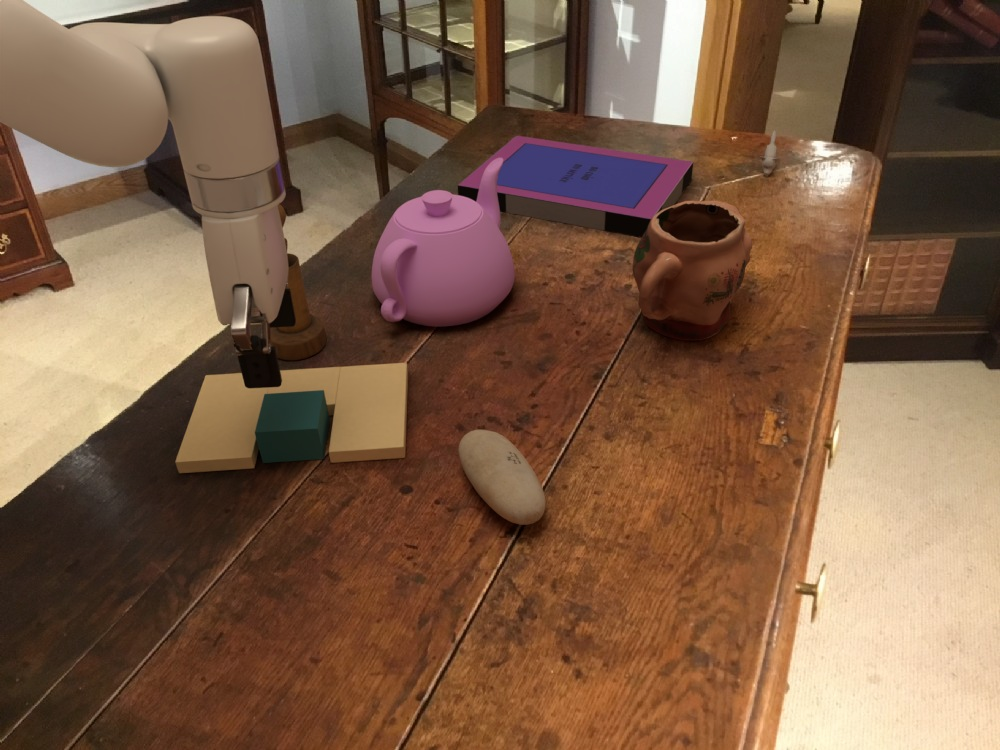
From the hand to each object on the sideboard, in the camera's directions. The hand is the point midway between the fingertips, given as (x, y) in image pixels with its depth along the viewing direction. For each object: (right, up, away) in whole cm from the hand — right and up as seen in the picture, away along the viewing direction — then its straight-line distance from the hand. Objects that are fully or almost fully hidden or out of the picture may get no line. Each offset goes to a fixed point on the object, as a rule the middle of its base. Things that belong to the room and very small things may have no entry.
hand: (272, 354), depth 79 cm
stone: (+21, -13, 0) cm, 25 cm away
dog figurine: (+64, +30, +56) cm, 90 cm away
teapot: (+15, +9, +29) cm, 34 cm away
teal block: (+1, -9, +7) cm, 11 cm away
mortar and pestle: (-2, +1, +21) cm, 21 cm away
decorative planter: (+42, +3, +21) cm, 47 cm away
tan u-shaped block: (0, -7, +9) cm, 11 cm away
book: (+33, +26, +51) cm, 66 cm away
